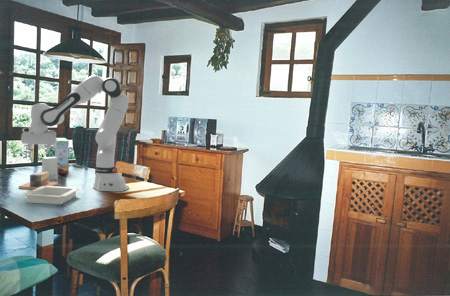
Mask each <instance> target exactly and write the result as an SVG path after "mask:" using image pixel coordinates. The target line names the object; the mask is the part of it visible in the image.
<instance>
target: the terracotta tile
mask: <svg viewBox="0 0 450 296" xmlns="http://www.w3.org/2000/svg"><path fill="white" fill-rule="evenodd" d="M41 186H44V187H45V186H59V182H57V181H49V183H46V184H44V185H41ZM41 186H39V187H41ZM39 187H35V186H30V181H29V182H26V183H24V184H22V185H19V186H18V189H19V190H30V191H31V190H34V189H36V188H39Z"/></svg>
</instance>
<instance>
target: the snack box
mask: <svg viewBox="0 0 450 296" xmlns="http://www.w3.org/2000/svg"><path fill="white" fill-rule="evenodd" d="M56 139H57V144H56V145H54V157H57V158H58V165H57V175H58V174H69V143H70V142H69V140H68V139H67V138H66V137H56Z"/></svg>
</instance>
